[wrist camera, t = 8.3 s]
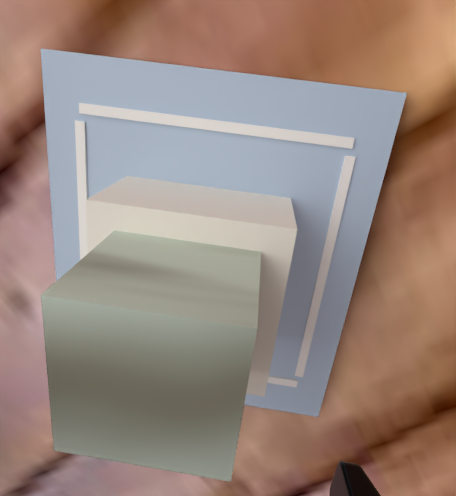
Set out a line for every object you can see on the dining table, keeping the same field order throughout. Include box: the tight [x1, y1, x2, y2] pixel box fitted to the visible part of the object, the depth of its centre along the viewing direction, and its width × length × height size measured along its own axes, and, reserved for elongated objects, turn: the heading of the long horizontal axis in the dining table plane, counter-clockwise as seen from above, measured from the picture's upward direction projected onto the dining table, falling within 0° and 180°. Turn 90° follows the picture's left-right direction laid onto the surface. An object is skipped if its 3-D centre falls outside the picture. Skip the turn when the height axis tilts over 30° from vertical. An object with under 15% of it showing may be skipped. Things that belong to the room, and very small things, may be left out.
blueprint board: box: [41, 49, 407, 417], centre depth 16 cm, size 16×14×5 cm
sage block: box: [41, 230, 261, 482], centre depth 12 cm, size 5×5×4 cm
